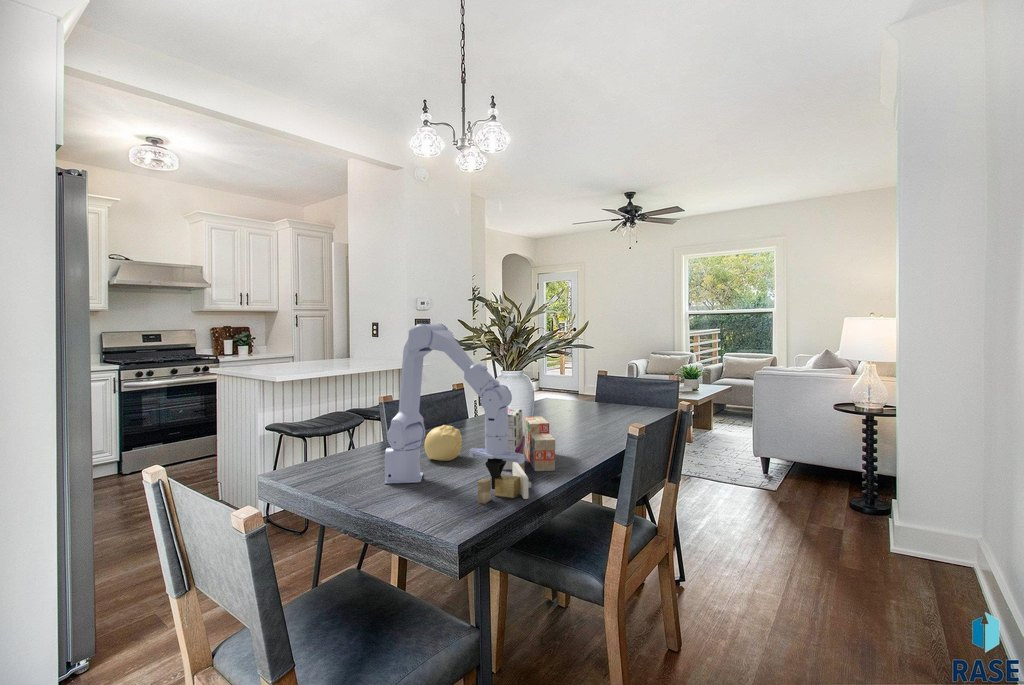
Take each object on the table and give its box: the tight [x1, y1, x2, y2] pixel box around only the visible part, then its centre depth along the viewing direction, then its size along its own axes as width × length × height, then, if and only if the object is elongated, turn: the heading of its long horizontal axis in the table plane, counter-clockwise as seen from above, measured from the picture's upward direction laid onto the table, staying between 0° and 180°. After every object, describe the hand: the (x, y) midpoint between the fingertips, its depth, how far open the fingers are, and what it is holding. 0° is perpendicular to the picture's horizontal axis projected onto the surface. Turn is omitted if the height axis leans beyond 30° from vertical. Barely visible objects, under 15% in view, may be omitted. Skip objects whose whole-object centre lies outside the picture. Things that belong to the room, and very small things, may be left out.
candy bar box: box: [502, 408, 524, 471], centre depth 147 cm, size 11×5×16 cm, turn 168°
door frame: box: [477, 462, 525, 505], centre depth 126 cm, size 2×23×5 cm, turn 155°
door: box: [512, 462, 532, 500], centre depth 125 cm, size 2×15×5 cm, turn 10°
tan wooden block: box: [494, 473, 521, 501], centre depth 121 cm, size 5×4×4 cm
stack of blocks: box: [523, 416, 556, 472], centre depth 151 cm, size 21×6×12 cm, turn 7°
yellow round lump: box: [424, 424, 463, 462], centre depth 155 cm, size 11×12×11 cm
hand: (496, 488), depth 122 cm, fingers closed, pressing on tan wooden block
